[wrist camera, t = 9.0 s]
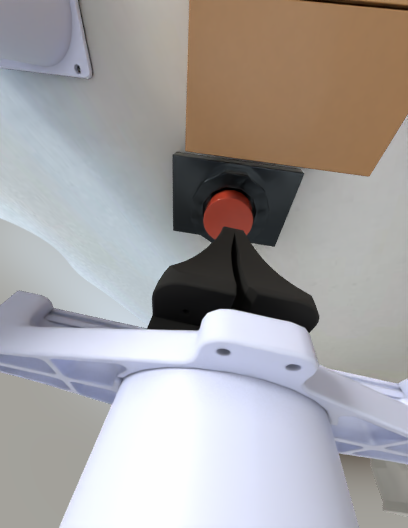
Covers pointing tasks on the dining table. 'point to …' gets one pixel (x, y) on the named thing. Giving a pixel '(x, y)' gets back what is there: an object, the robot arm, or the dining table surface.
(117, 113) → the dining table surface
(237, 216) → the button
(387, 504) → the chalice
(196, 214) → the block
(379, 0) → the flap
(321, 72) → the carton
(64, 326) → the robot arm
